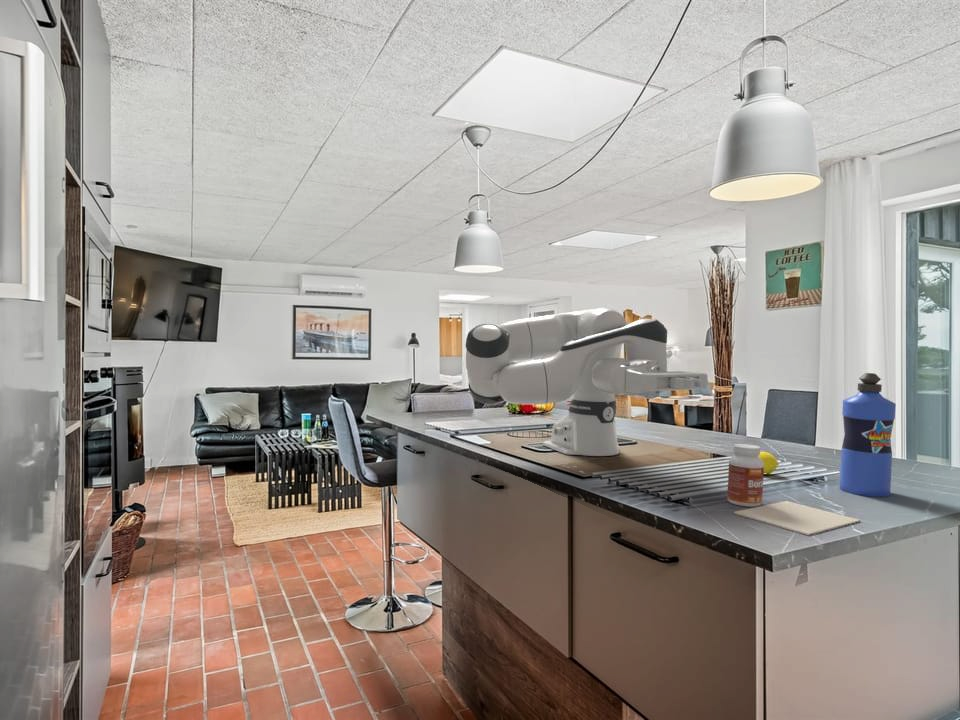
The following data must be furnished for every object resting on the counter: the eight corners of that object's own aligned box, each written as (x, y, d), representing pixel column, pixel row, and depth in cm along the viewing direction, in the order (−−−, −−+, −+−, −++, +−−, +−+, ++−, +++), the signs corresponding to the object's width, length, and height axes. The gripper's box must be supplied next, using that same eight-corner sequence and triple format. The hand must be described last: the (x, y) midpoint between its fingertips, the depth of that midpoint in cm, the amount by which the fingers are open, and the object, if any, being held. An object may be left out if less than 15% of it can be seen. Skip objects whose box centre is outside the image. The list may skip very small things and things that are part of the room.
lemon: (744, 475, 142) (742, 452, 142) (755, 472, 145) (753, 450, 146) (773, 477, 137) (771, 453, 137) (784, 474, 140) (782, 450, 140)
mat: (734, 513, 108) (734, 511, 108) (786, 502, 116) (786, 500, 116) (808, 535, 97) (808, 533, 97) (860, 521, 105) (860, 519, 105)
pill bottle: (751, 509, 111) (754, 450, 110) (720, 501, 116) (723, 444, 115) (768, 504, 115) (771, 447, 114) (738, 497, 120) (740, 442, 119)
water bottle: (828, 485, 131) (834, 371, 130) (868, 485, 132) (874, 372, 131) (859, 497, 122) (865, 374, 121) (902, 497, 123) (908, 375, 122)
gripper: (677, 391, 142) (728, 397, 130) (613, 394, 131) (662, 400, 120) (678, 364, 142) (729, 368, 130) (614, 365, 131) (663, 369, 119)
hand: (696, 383), depth 125 cm, fingers closed
